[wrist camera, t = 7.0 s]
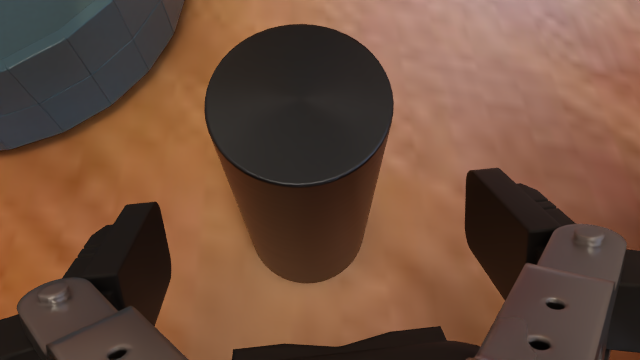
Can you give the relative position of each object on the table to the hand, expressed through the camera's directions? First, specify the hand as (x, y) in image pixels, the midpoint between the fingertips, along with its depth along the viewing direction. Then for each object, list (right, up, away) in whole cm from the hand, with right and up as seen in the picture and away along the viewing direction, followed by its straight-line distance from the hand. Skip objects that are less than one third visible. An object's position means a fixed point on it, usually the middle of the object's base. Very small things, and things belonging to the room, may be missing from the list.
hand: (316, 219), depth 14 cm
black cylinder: (0, -1, +9) cm, 9 cm away
